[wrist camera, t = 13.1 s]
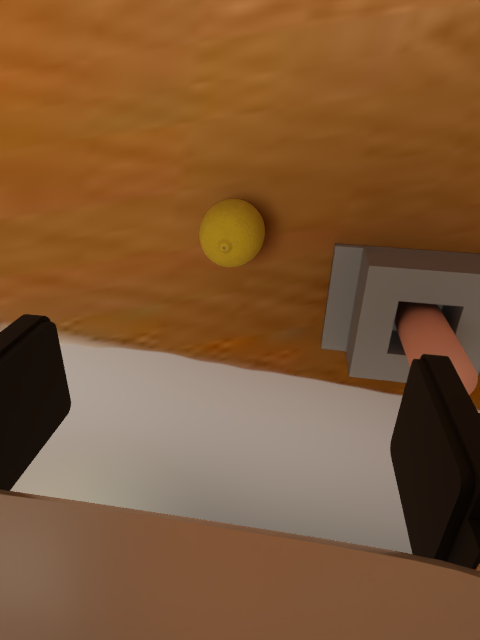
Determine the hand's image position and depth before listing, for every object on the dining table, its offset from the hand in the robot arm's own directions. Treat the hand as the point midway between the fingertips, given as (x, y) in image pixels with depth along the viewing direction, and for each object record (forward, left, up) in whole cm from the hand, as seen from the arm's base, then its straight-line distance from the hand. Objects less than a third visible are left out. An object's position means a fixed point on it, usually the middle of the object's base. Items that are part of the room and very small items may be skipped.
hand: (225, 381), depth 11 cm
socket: (-13, +11, -30) cm, 35 cm away
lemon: (+4, +4, -31) cm, 31 cm away
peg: (-13, +11, -30) cm, 34 cm away
